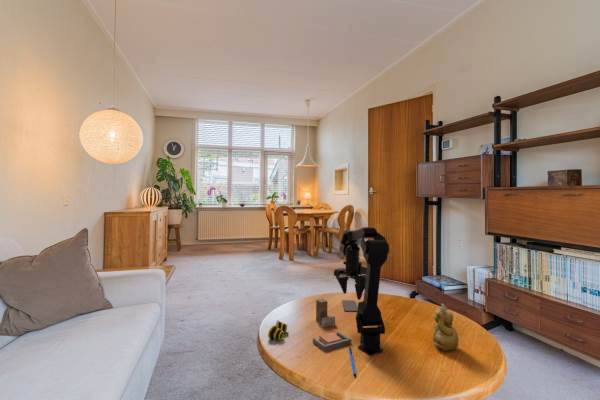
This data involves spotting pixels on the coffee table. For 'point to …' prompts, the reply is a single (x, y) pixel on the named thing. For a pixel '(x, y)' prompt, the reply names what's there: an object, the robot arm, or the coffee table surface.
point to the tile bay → (324, 347)
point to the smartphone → (349, 306)
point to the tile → (329, 338)
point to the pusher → (323, 314)
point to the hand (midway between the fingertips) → (351, 296)
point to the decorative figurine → (444, 330)
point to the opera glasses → (277, 330)
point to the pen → (352, 362)
